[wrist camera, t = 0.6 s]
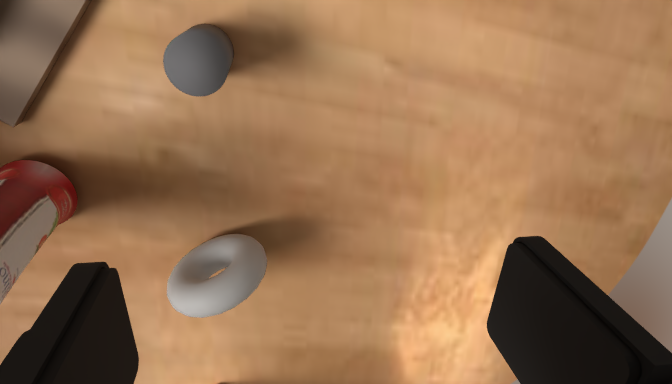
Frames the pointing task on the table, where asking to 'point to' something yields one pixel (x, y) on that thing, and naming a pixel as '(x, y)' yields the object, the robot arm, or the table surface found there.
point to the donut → (223, 289)
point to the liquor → (29, 213)
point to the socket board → (31, 48)
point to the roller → (199, 60)
